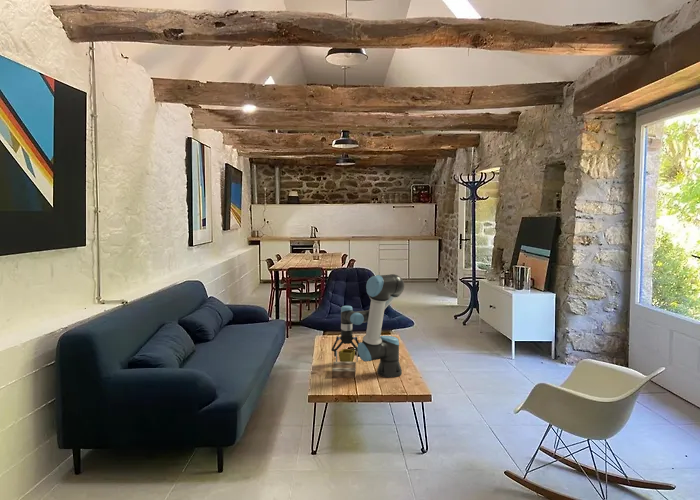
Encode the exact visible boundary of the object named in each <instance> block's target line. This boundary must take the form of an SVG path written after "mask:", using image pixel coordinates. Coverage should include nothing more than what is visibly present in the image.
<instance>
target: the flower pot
mask: <svg viewBox="0 0 700 500" xmlns="http://www.w3.org/2000/svg"><path fill="white" fill-rule="evenodd" d="M355 355H356V349H349V348H342V349H341V350H340V351H338V358H339V362H354V360H355Z"/></svg>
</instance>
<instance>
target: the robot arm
mask: <svg viewBox="0 0 700 500" xmlns="http://www.w3.org/2000/svg"><path fill="white" fill-rule="evenodd" d="M365 288H366V293H367V295H368V297H369V299H370V303H369V304H370V306H369V309H368V310H366V309H365V310H359V311H354V310H353V306H351V305H343V306H341V307H340V329H341V330H340V335H341V336H338V335H337V336H336V338H335V341H334V343H333V345H332V347H331V352H333V356H334V357H335V362H338V350H339V348H341V346H342V345H343V344H344V345H349V344H350V345H351V346H352V347H353V348H354V350H355V351H356V363H358V362H359V361H358V360H359V358H360V359H361V361H363V362H372V361H378V360H379V363H378V366H377V369H376V370H377V371H376V373H377V375H378V376H380V377H383V378H397V377H400V376H402V373H403V369H402V367H401V364H400V342H399V338H398V337H396V336H392V335H382V334H381V333H382V327H383V322H384V321H383V320H384V316H385V314H384V313H385V310H386V309H387V307H388V306H389V305H390V304H392V302H393V301H394V300H395V299H396V298H398V297H400V296H401V294H402V293H403V292H404V289H405V281H404V279H403V278H402V277H401V276H400V275H398V274H394V273H393V274H380V275H379V274H377V275H372V276H371V277H369V278H368V280H367V282H366V285H365ZM363 323H367V325H366V331H365V332H366V333H365V335H363V337H362V341H360V342H359V339H358V336H357V335H356V336H353V335H354V334H353V333H354V332H353V325H355V326H360V325H362V324H363ZM340 340H341V341H340ZM353 340H354V341H355V343H356V344H355V343H354V342H353ZM338 341H340V342H339V344H338V345H337V343H338Z"/></svg>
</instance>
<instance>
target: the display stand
mask: <svg viewBox="0 0 700 500" xmlns="http://www.w3.org/2000/svg"><path fill="white" fill-rule="evenodd" d="M332 364H333V365H332V367H331V378H335V379H336V378H337V379H338V378H339V379H344V378H345V379H347V378H348V379H349V378H350V379H351V378H352V379H354V378H355V379H356V372H357V367H356V364H357V361H353V362H340V361H337V362H336V361H333V363H332Z"/></svg>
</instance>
